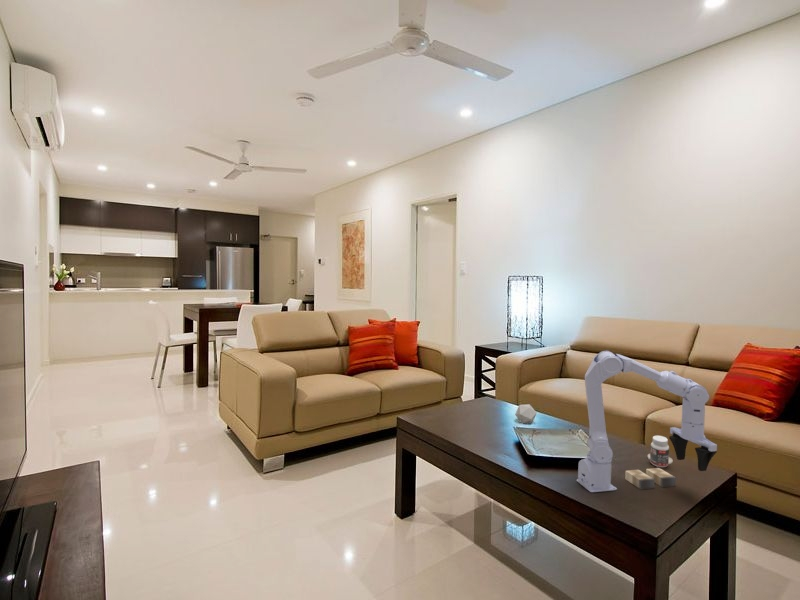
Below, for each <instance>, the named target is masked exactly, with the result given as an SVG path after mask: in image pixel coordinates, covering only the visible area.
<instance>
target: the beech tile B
mask: <svg viewBox="0 0 800 600" xmlns="http://www.w3.org/2000/svg"><path fill="white" fill-rule="evenodd" d="M645 474H646V475H648V476H650V477H651V478H653V479H655V481H654V484H656V485H657V486H659V487H661V488H670V487H676V486H677V485H676V483H677V482H676V481H677V477H676V476H674V475H672V474H670V473H669V472H667V471H665V470H664V469H662V468H661V467H655V468H654V467H653V468H651V467H650V468H646V470H645Z"/></svg>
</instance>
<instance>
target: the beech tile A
mask: <svg viewBox="0 0 800 600" xmlns="http://www.w3.org/2000/svg"><path fill="white" fill-rule="evenodd" d="M624 473H625V475H624V477H625V478H624V479H625V481H628V482H629V483H631V484H632V485H634V486H635V487H636V488H638V489H639V490H649V489H655V483H654V481H655V479H653V478H651V477H650V476H648V475H646V472H643V471H642V470H640V469H630V470H629V469H628V470H625V472H624Z"/></svg>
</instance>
